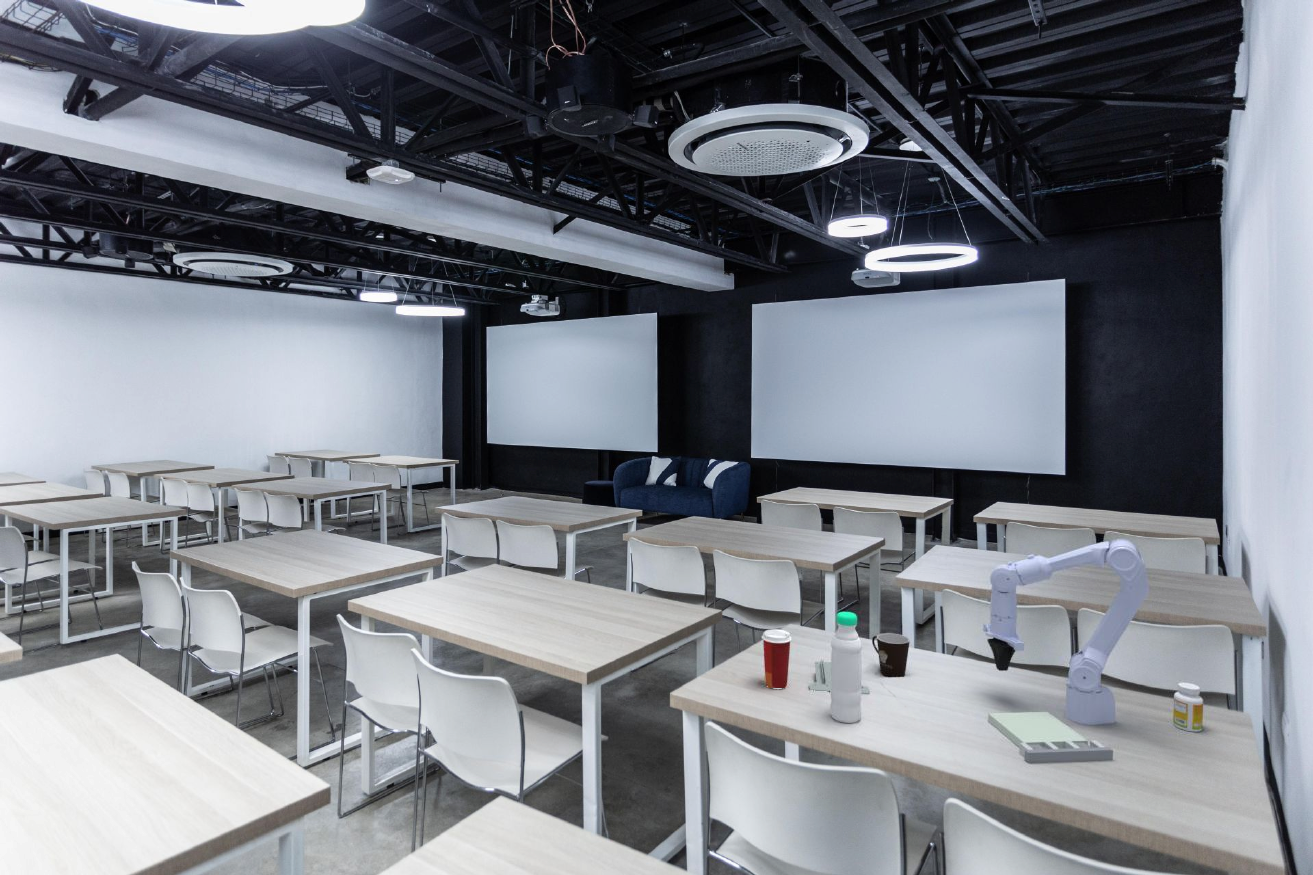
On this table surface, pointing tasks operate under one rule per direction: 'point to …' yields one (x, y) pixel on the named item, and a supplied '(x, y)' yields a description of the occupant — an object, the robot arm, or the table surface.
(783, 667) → the paper cup
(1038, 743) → the door
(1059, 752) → the jig board
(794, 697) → the table surface
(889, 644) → the coffee mug
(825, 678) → the metal bracket
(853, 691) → the water bottle
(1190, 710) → the supplement bottle
